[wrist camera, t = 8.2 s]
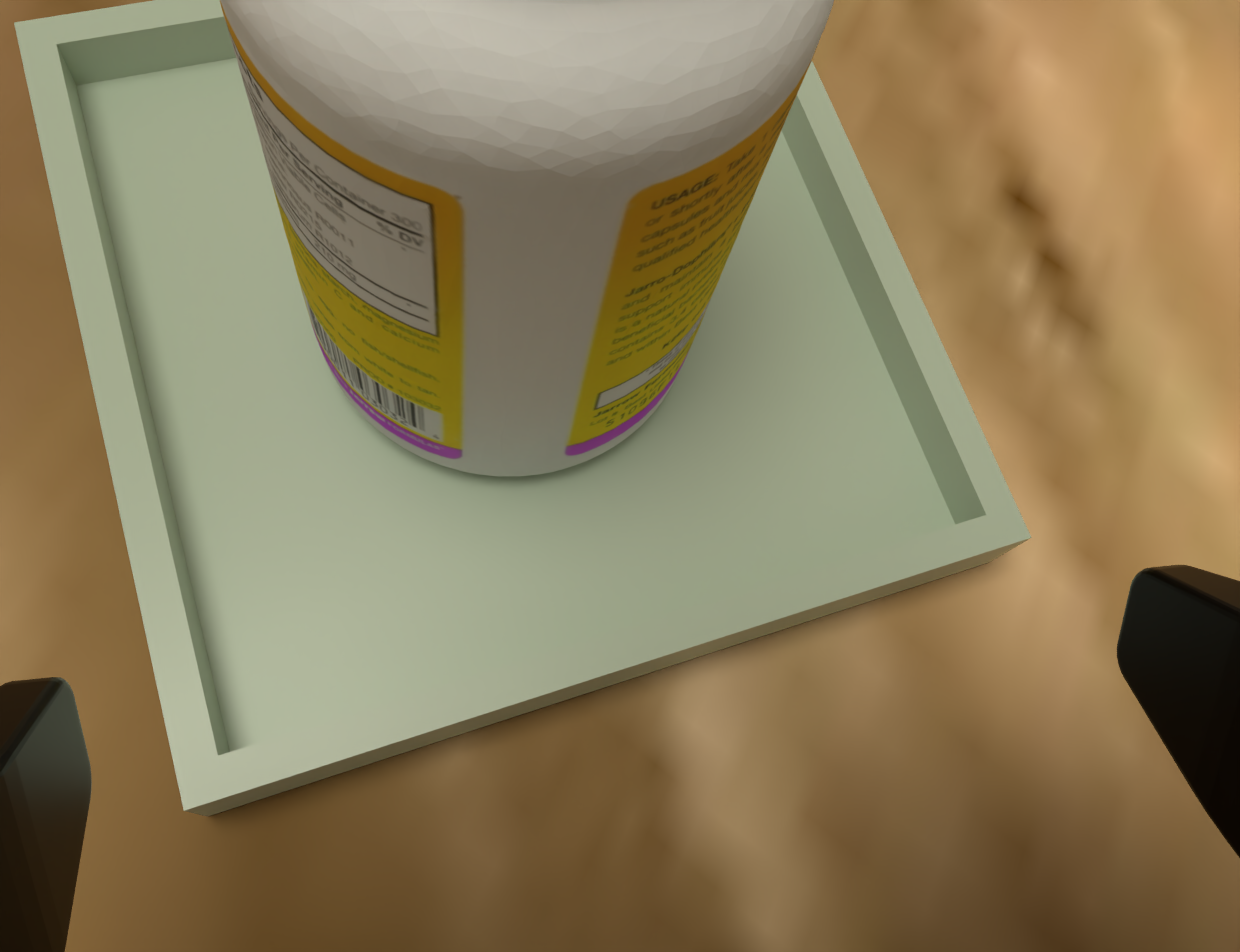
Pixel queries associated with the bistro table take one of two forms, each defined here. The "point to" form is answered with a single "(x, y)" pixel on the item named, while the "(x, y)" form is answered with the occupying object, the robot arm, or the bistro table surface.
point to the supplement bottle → (515, 200)
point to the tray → (455, 500)
